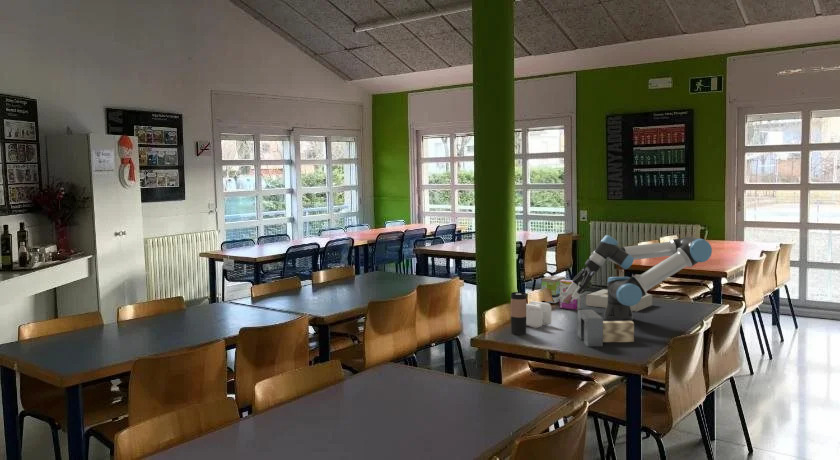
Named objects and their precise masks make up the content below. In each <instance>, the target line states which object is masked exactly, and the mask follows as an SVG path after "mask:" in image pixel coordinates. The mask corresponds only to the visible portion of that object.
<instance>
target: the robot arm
mask: <svg viewBox="0 0 840 460" xmlns="http://www.w3.org/2000/svg"><path fill="white" fill-rule="evenodd" d="M618 244H619V242H618V240H616V239H615V237H612V236H611V235H608V234H605V235H604V237H602V239H601V240H600V241H599V243H598V245H597V246H596V248H595V249H594V250H593V252H591V253H590V254H591V255H590V256H589V258H587V260H586V261H585V262H584V265H585V266H586V267H585V266H583V267H582V269H581V270H580V271H579V272H578V273H577V274H576V275H575V276H574V277H573V279H572V281H573V282H572V283H571V285H570V286H569V288H568V289H567V290H566V293H568V294H569V295H570V294H571V293H572V291H573V290H574V289H575V287H576V286H577V285H578V283H579V282H580V285H579V287H578V288H577V289H576V291H575V292H574V294H573V295H572V297H573V298H574V299H577V298H578V296H579V295H580V296H581V294H582V292H583V291H584V290H585V289H587V288H588V286H589V284H590V282H591V280H592V277H593V276H594V274H595V273H597V272H598V271H599V270H600V269H601V266H603V265H604V263H605V262H606V260H608V261H609V262H612V263H614V264H616V265H618V266H620V267H621V268H623V269H624V270H627V269H629V268H630V267H631V266H632V265H633V263H634V261H635V260H636V261H637V260H645V259H654V258H661V257H666V258H665V259H663V260H662V261H660V262H659V263H657V264H656V265H653V266H652V267H650V268H649V269H648V270H646V271H645V272H643V273H641V274H639V275H638V276H635V275H632V276H631V277H630V276H610V277H608V278H607V283H606V284H607V290H608V304H607V307H606V308H605V309H604V310H605V311H604V314H603V320H605V321H632V322H633V320H634V313H633V311H632V310H631V307H630V306H633V305H636V304H637V303H638V302H639V301H640V300H641V298H642V297H643V296H645V295H646V294H648V293H647V292H648V291H649V290H650V289H652V288H654V287H655V286H657V285H659V284H661V283H662V282H664V281H665V280H667V279H668V278H670V277H671V276H674V275H675V274H676V273H677V272H680V271H681V270H683V269H684V268H686V267H689V268H692V267H693V266H695V265H697V264H698V263H705V262H706V261H708V260H709V259H710V258H711V257H712V253H713V248H712V245H711V244H710V242H709V241H707V240H706V239H704V238H700V237H699V238H698V237H694V236H684V237H681V238H676V239H675V238H674V239H673V238H672V239H669V241H665V242H657V243H655V242H654V243H645V244H637V245H636V244H635V245H630V246H621V247H619V246H618Z"/></svg>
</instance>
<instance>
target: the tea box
mask: <svg viewBox="0 0 840 460" xmlns="http://www.w3.org/2000/svg"><path fill="white" fill-rule="evenodd" d="M565 277H566V276H558V275H549V276H546V277H541V287H540V288H541V289H544V288H548V289H551V292H552V293H551V294H552V298H553V300H554V302H553V301H548V302H547V303H549V304H551V303H552V304H557V303H559V294H560V280H566V278H565ZM541 289H540V290H541Z"/></svg>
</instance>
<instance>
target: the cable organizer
mask: <svg viewBox="0 0 840 460" xmlns="http://www.w3.org/2000/svg"><path fill="white" fill-rule="evenodd" d="M551 324H552V305H551V303H548V302H541V301H536V300H532V301H529V303H526V327H532V328H535V329H538V328H541V327H543V326H548V325H551Z"/></svg>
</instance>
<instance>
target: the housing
mask: <svg viewBox="0 0 840 460" xmlns="http://www.w3.org/2000/svg"><path fill="white" fill-rule="evenodd" d="M603 321H604V317H602V316H601V315H600V314H598V313H597V312H596V311H595V310H594V309H578V310H577V337H578V338H579V340H581V341H583V344H585V346H586V347H603V345H604V342H603Z"/></svg>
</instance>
